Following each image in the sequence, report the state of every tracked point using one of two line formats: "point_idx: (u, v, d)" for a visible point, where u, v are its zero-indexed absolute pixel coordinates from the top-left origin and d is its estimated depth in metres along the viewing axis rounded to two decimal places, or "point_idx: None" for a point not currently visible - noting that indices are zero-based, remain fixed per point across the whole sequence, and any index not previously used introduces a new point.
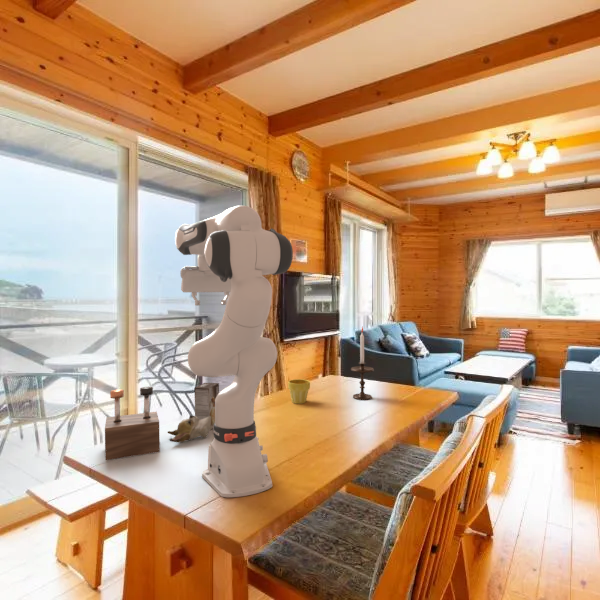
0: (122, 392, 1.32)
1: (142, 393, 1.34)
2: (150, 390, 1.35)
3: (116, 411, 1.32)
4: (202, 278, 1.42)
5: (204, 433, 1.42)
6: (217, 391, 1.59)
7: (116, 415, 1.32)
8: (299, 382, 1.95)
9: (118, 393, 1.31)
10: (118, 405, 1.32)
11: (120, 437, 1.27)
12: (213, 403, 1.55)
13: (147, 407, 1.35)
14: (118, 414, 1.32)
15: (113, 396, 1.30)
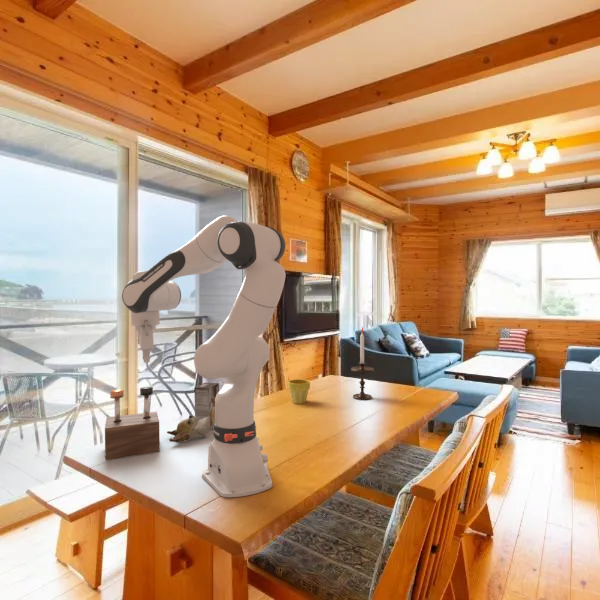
0: (122, 392, 1.32)
1: (142, 393, 1.34)
2: (150, 390, 1.35)
3: (116, 411, 1.32)
4: None
5: (203, 433, 1.42)
6: (217, 391, 1.59)
7: (116, 415, 1.32)
8: (299, 382, 1.95)
9: (118, 393, 1.31)
10: (118, 405, 1.32)
11: (120, 437, 1.27)
12: (213, 403, 1.55)
13: (147, 407, 1.35)
14: (118, 414, 1.32)
15: (113, 396, 1.30)
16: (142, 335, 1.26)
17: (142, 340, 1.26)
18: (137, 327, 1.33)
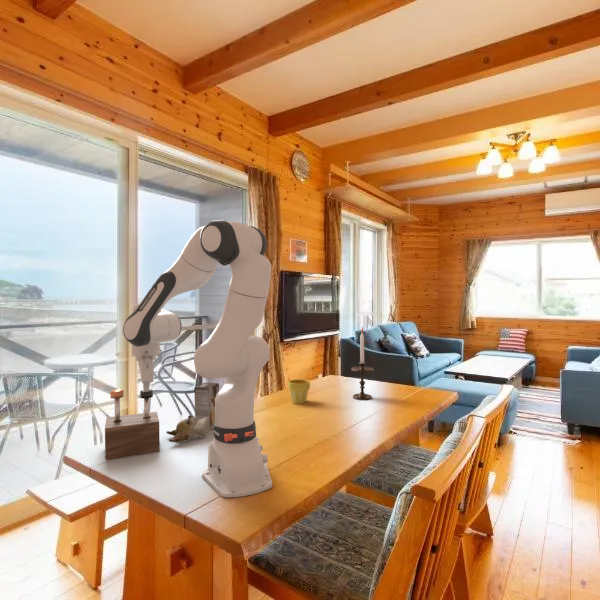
0: (122, 392, 1.32)
1: (142, 396, 1.34)
2: (150, 393, 1.35)
3: (116, 411, 1.32)
4: None
5: (203, 433, 1.42)
6: (217, 391, 1.59)
7: (116, 415, 1.32)
8: (299, 382, 1.95)
9: (118, 393, 1.31)
10: (118, 405, 1.32)
11: (120, 437, 1.27)
12: (213, 403, 1.55)
13: (147, 410, 1.35)
14: (118, 414, 1.32)
15: (113, 396, 1.30)
16: (142, 367, 1.26)
17: (142, 372, 1.26)
18: (137, 358, 1.33)
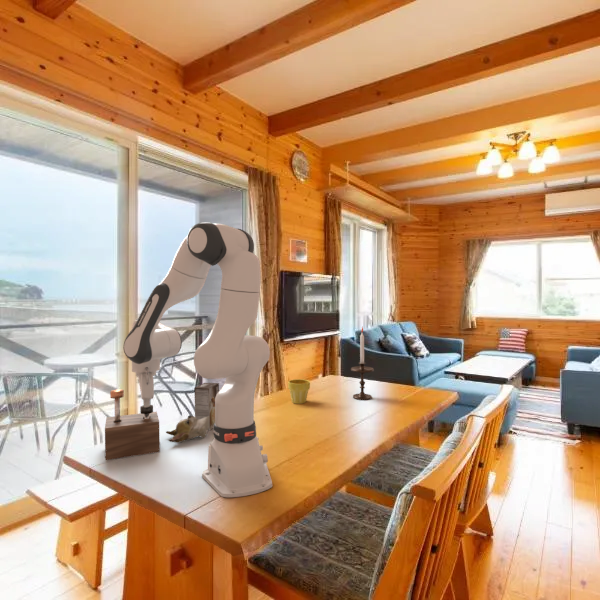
0: (122, 392, 1.32)
1: (142, 412, 1.34)
2: (150, 408, 1.35)
3: (116, 411, 1.32)
4: None
5: (202, 433, 1.42)
6: (217, 391, 1.59)
7: (116, 415, 1.32)
8: (299, 382, 1.95)
9: (118, 393, 1.31)
10: (118, 405, 1.32)
11: (120, 437, 1.27)
12: (213, 403, 1.55)
13: None
14: (118, 414, 1.32)
15: (113, 396, 1.30)
16: (142, 384, 1.26)
17: (142, 389, 1.26)
18: (137, 373, 1.33)
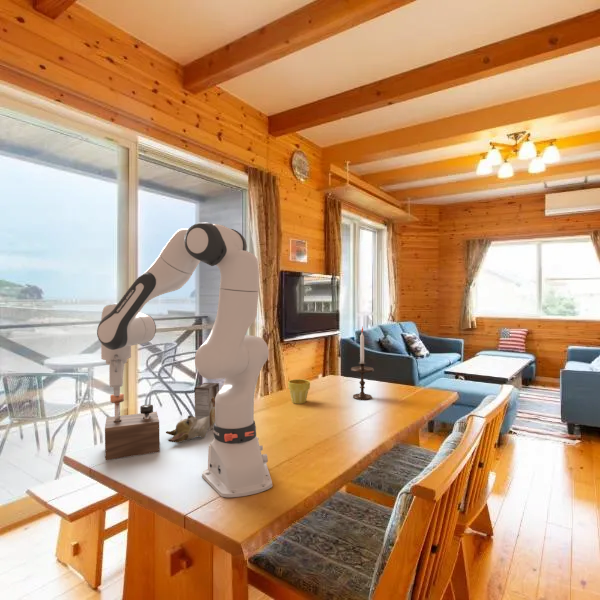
0: (122, 396, 1.32)
1: (142, 411, 1.34)
2: (150, 408, 1.35)
3: (116, 415, 1.32)
4: None
5: (202, 433, 1.42)
6: (217, 391, 1.59)
7: (116, 419, 1.32)
8: (299, 382, 1.95)
9: (118, 397, 1.31)
10: (118, 409, 1.32)
11: (120, 437, 1.27)
12: (213, 403, 1.55)
13: None
14: (118, 418, 1.32)
15: (113, 400, 1.30)
16: (110, 371, 1.23)
17: (110, 376, 1.22)
18: (107, 361, 1.29)
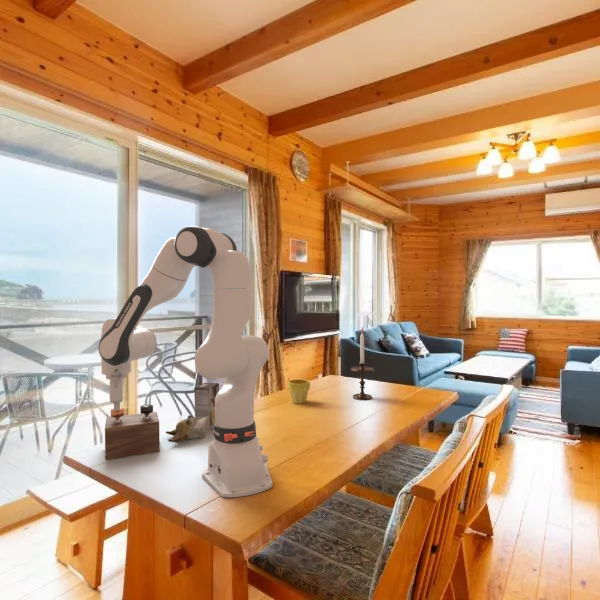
0: (122, 411, 1.32)
1: (142, 411, 1.34)
2: (150, 408, 1.35)
3: None
4: None
5: (202, 433, 1.42)
6: (217, 391, 1.59)
7: None
8: (299, 382, 1.95)
9: (118, 412, 1.31)
10: None
11: (120, 437, 1.27)
12: (213, 403, 1.55)
13: None
14: None
15: (113, 415, 1.30)
16: (111, 387, 1.23)
17: (111, 392, 1.23)
18: (107, 376, 1.29)
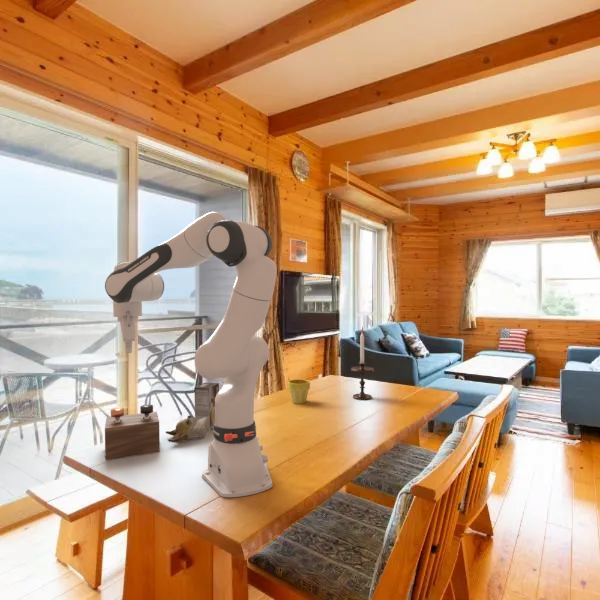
0: (122, 411, 1.32)
1: (142, 411, 1.34)
2: (150, 408, 1.35)
3: None
4: None
5: (202, 433, 1.42)
6: (217, 391, 1.59)
7: None
8: (299, 382, 1.95)
9: (118, 412, 1.31)
10: None
11: (120, 437, 1.27)
12: (213, 403, 1.55)
13: None
14: None
15: (113, 415, 1.30)
16: (124, 326, 1.26)
17: (124, 331, 1.25)
18: (119, 318, 1.32)
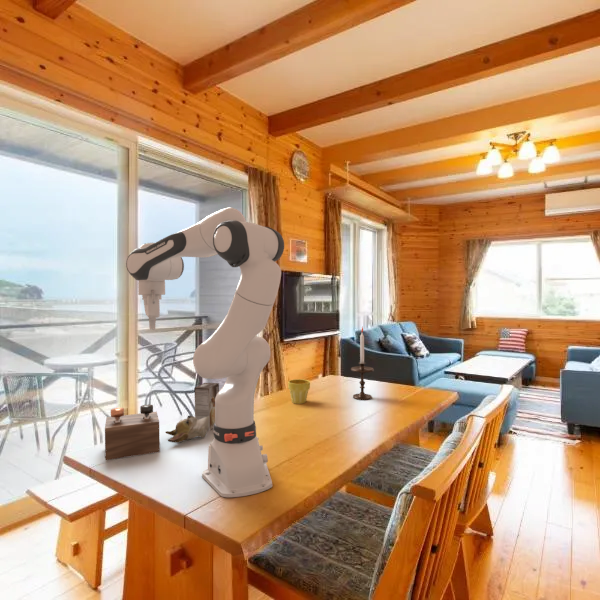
0: (122, 411, 1.32)
1: (142, 411, 1.34)
2: (150, 408, 1.35)
3: None
4: None
5: (202, 433, 1.42)
6: (217, 391, 1.59)
7: None
8: (299, 382, 1.95)
9: (118, 412, 1.31)
10: None
11: (120, 437, 1.27)
12: (213, 403, 1.55)
13: None
14: None
15: (113, 415, 1.30)
16: (149, 302, 1.32)
17: (149, 307, 1.32)
18: (144, 296, 1.39)
